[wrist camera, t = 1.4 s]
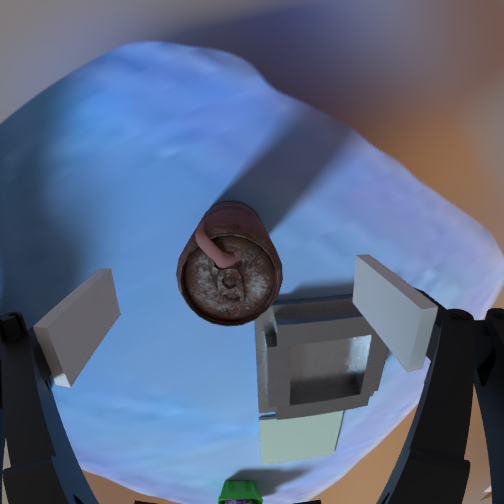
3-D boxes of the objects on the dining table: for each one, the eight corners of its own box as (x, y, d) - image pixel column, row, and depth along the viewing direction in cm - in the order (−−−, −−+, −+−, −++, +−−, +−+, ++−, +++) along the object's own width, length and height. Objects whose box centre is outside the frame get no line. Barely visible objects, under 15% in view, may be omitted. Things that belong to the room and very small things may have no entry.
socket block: (258, 408, 36) (260, 426, 33) (253, 302, 32) (256, 318, 28) (370, 391, 37) (379, 407, 34) (389, 290, 33) (403, 302, 29)
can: (232, 185, 28) (231, 199, 15) (274, 234, 30) (306, 288, 16) (185, 225, 29) (147, 274, 16) (227, 272, 31) (224, 349, 17)
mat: (261, 461, 40) (261, 464, 39) (259, 417, 37) (259, 420, 36) (332, 452, 41) (333, 454, 40) (342, 406, 37) (343, 409, 37)
